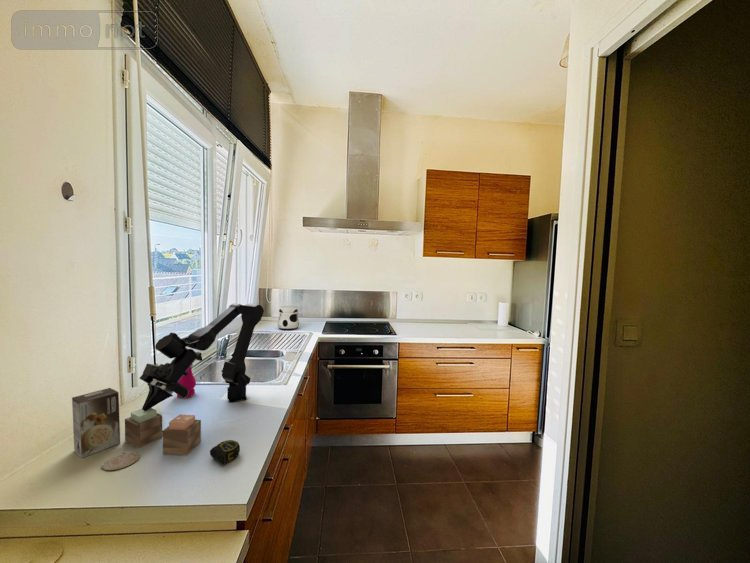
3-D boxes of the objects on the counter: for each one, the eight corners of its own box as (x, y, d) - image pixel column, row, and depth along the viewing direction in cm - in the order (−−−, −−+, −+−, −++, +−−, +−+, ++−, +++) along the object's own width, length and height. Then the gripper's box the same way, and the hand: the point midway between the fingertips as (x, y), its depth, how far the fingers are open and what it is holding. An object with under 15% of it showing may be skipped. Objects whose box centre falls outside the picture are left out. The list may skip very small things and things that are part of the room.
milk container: (273, 328, 260) (274, 306, 259) (292, 325, 271) (293, 305, 270) (283, 331, 247) (283, 309, 246) (302, 329, 259) (303, 307, 258)
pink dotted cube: (180, 428, 96) (179, 414, 95) (195, 429, 95) (195, 414, 95) (169, 437, 91) (168, 421, 91) (185, 438, 91) (184, 422, 90)
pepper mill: (171, 396, 127) (171, 348, 126) (189, 390, 134) (189, 344, 133) (182, 400, 124) (182, 351, 123) (199, 393, 130) (199, 346, 129)
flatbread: (135, 450, 92) (135, 447, 92) (142, 462, 87) (142, 458, 87) (98, 463, 85) (98, 460, 85) (104, 476, 81) (104, 473, 80)
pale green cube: (148, 420, 100) (148, 406, 100) (156, 424, 98) (156, 409, 98) (130, 427, 96) (130, 412, 96) (139, 431, 94) (139, 416, 93)
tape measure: (208, 459, 89) (208, 446, 89) (232, 448, 94) (232, 436, 94) (220, 469, 85) (220, 456, 85) (244, 457, 90) (244, 445, 90)
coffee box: (112, 436, 98) (111, 386, 97) (120, 443, 94) (120, 391, 94) (72, 451, 90) (71, 397, 89) (80, 459, 87) (79, 403, 86)
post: (150, 430, 102) (149, 409, 101) (162, 436, 99) (162, 415, 98) (125, 441, 96) (124, 419, 95) (137, 448, 92) (137, 425, 92)
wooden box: (178, 440, 97) (178, 418, 97) (200, 441, 97) (200, 419, 96) (162, 454, 90) (162, 430, 90) (186, 455, 90) (186, 432, 89)
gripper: (145, 348, 105) (106, 392, 95) (179, 358, 96) (138, 407, 87) (170, 365, 112) (135, 407, 103) (203, 375, 104) (168, 422, 94)
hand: (143, 410), depth 97 cm, fingers closed, pressing on pale green cube
